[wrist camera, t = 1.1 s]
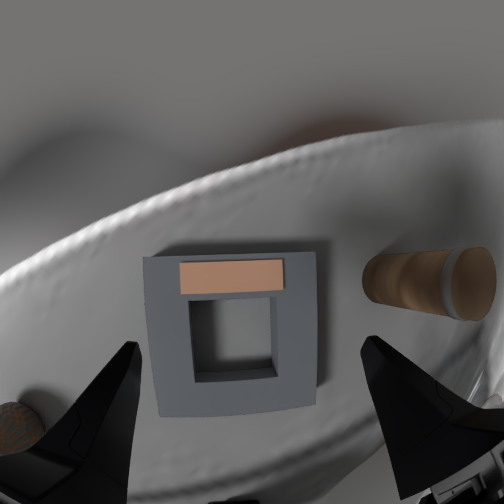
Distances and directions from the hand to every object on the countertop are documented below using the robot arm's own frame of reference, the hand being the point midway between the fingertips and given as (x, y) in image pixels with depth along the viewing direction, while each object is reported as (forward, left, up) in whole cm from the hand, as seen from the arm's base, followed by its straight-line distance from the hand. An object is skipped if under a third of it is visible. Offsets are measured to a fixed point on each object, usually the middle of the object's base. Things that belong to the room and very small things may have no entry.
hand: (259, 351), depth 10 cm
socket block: (-3, 0, -14) cm, 15 cm away
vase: (-15, +25, -15) cm, 33 cm away
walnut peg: (+1, -16, -14) cm, 21 cm away
